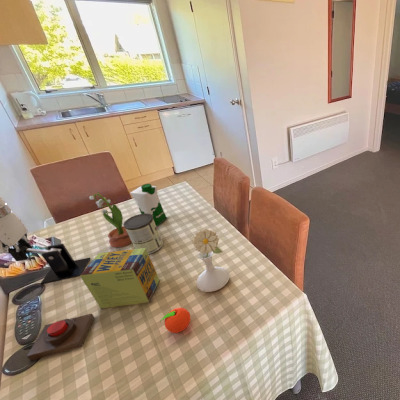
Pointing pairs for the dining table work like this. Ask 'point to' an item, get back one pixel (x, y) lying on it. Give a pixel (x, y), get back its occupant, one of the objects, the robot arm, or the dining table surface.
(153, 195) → the milk carton
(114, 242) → the potted flower
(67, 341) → the button block
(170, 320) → the clementine
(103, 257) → the protein box
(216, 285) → the flower in vase
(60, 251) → the toast lever
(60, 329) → the button
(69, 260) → the bracket
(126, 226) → the coffee can
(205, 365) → the dining table surface
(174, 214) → the dining table surface
